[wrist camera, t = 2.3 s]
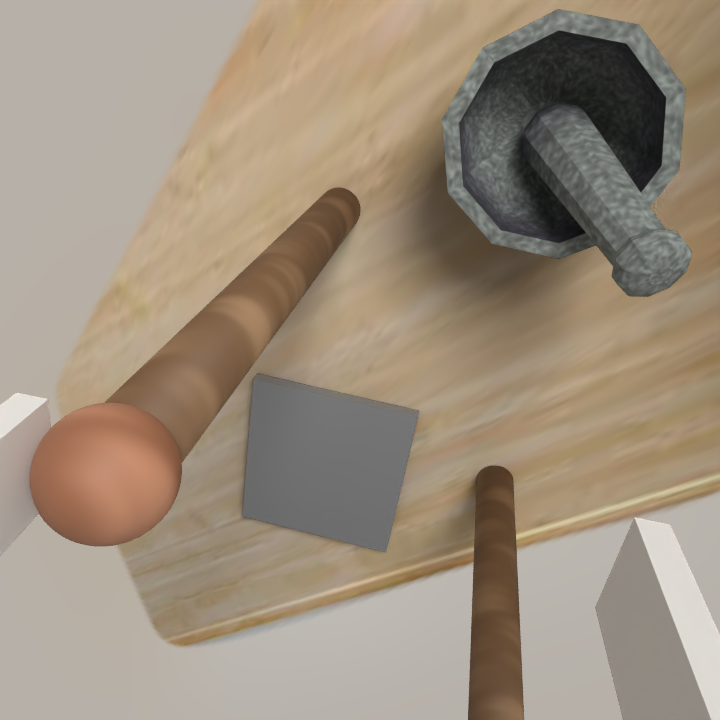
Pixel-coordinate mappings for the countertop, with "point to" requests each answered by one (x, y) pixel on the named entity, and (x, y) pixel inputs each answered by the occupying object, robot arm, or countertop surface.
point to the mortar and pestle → (572, 145)
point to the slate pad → (325, 461)
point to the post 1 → (177, 393)
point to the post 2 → (495, 603)
